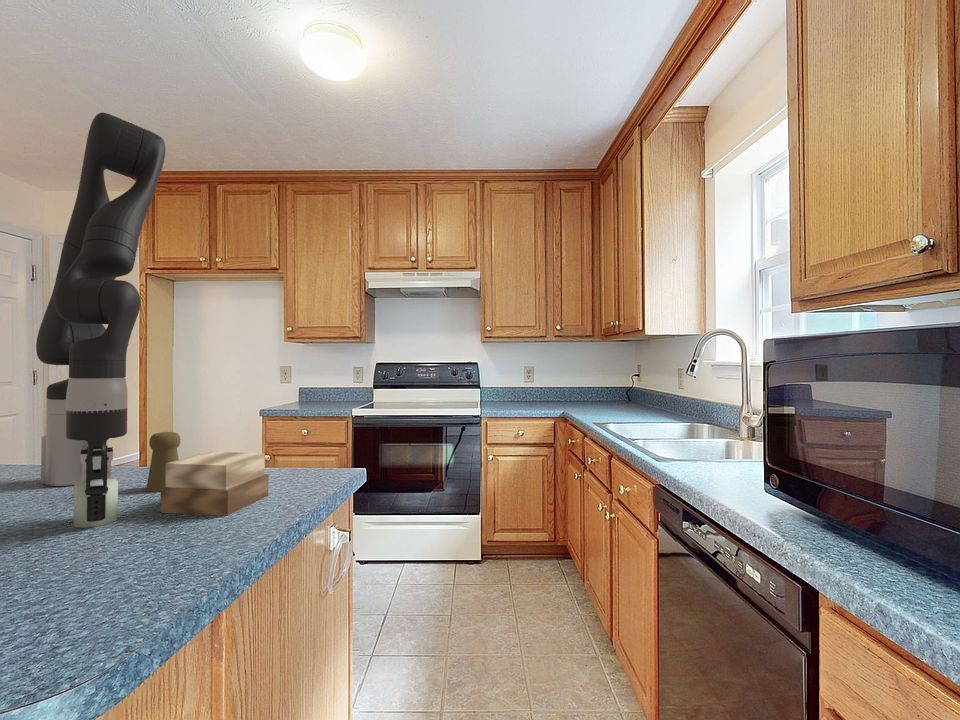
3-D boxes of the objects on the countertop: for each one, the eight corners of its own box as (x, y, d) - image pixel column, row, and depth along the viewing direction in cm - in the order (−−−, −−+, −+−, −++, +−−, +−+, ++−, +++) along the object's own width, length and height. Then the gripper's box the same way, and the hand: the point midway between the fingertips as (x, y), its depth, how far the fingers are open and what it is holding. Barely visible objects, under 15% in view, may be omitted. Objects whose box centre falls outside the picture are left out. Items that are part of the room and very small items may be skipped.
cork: (149, 485, 97) (150, 431, 98) (184, 483, 100) (185, 429, 100) (143, 493, 92) (143, 435, 92) (180, 490, 94) (181, 433, 95)
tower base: (160, 515, 81) (160, 488, 81) (209, 495, 93) (209, 471, 93) (227, 518, 79) (228, 490, 79) (268, 498, 91) (268, 474, 91)
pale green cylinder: (63, 526, 73) (64, 486, 73) (96, 515, 79) (96, 478, 79) (95, 528, 73) (96, 488, 73) (126, 517, 78) (126, 479, 78)
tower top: (165, 487, 81) (165, 463, 81) (210, 472, 92) (210, 451, 92) (225, 489, 80) (226, 465, 80) (264, 474, 91) (264, 453, 91)
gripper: (129, 409, 72) (128, 523, 72) (125, 402, 84) (124, 501, 84) (63, 412, 68) (61, 533, 68) (68, 404, 79) (66, 508, 79)
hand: (96, 515), depth 76 cm, fingers closed on pale green cylinder, 5 cm apart
